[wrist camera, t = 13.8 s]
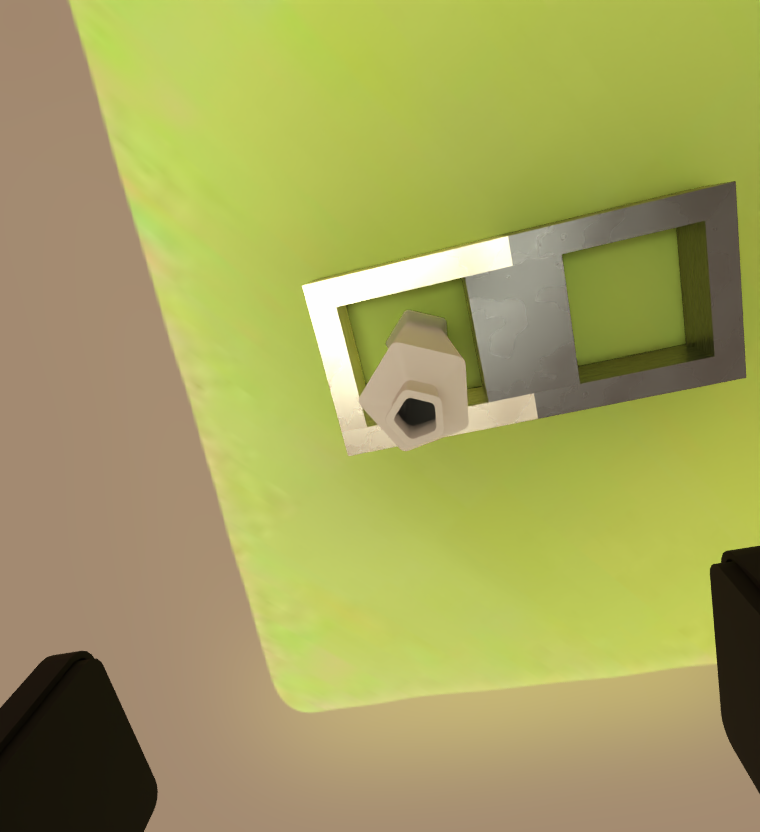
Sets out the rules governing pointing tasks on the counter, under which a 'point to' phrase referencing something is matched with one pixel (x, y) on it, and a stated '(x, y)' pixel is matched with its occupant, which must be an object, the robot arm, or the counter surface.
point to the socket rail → (551, 315)
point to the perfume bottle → (418, 384)
